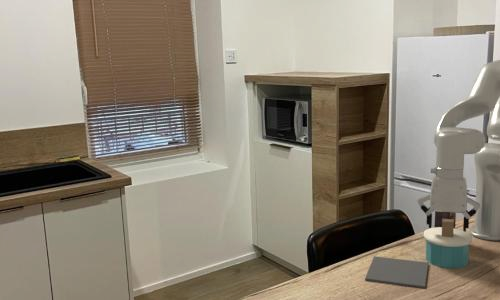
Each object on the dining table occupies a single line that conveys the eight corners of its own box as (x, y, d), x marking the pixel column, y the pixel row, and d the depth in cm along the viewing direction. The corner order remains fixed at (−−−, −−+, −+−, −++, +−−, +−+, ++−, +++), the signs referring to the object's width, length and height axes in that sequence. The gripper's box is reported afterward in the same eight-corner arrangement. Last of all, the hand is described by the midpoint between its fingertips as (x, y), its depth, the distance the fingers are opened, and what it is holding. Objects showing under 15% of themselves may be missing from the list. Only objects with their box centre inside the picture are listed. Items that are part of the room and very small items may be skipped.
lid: (425, 231, 156) (425, 212, 155) (471, 235, 151) (472, 215, 150) (422, 247, 144) (422, 226, 143) (472, 252, 139) (473, 230, 137)
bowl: (427, 250, 156) (427, 229, 155) (467, 254, 152) (468, 233, 150) (424, 265, 146) (425, 243, 144) (468, 270, 141) (469, 247, 140)
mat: (374, 258, 152) (374, 256, 152) (428, 264, 146) (428, 262, 146) (365, 280, 138) (365, 278, 138) (424, 288, 132) (424, 286, 132)
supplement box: (448, 248, 157) (450, 201, 154) (433, 245, 160) (434, 199, 157) (455, 239, 164) (457, 194, 160) (440, 237, 166) (442, 192, 163)
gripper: (417, 174, 143) (415, 229, 146) (482, 178, 137) (479, 235, 140) (419, 168, 150) (417, 221, 153) (481, 172, 143) (478, 227, 146)
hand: (447, 228), depth 146 cm, fingers open, 9 cm apart
